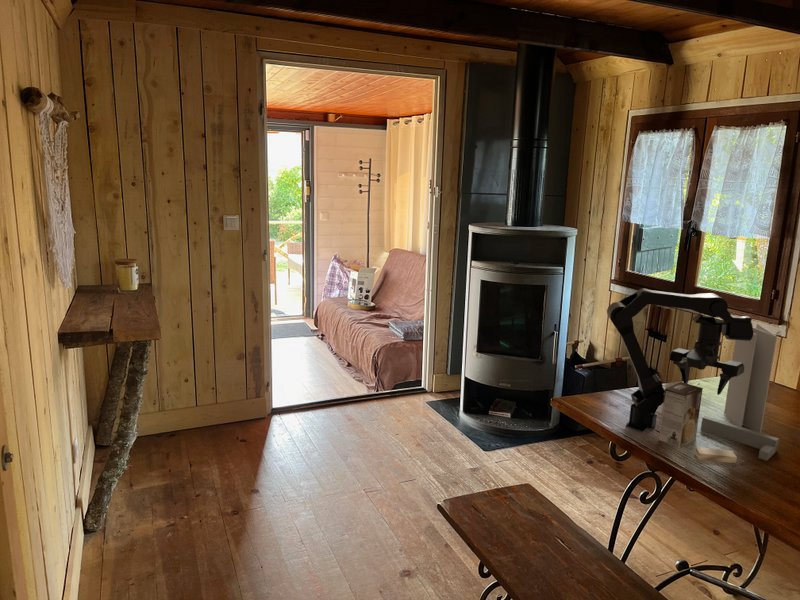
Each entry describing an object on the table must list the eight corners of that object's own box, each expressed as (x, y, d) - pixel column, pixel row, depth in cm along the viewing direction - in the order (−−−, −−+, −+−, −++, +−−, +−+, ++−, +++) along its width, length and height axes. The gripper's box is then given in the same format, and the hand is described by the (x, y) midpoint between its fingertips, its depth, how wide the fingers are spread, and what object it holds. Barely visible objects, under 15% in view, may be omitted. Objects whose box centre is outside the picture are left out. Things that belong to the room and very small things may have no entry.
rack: (691, 439, 167) (693, 423, 165) (702, 431, 172) (705, 415, 171) (766, 464, 153) (769, 447, 152) (775, 455, 158) (778, 438, 157)
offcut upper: (698, 459, 153) (699, 453, 152) (694, 453, 156) (695, 447, 156) (735, 463, 151) (736, 457, 151) (731, 456, 154) (732, 450, 154)
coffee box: (673, 433, 169) (680, 380, 165) (696, 441, 164) (703, 387, 161) (657, 441, 163) (664, 388, 160) (680, 450, 159) (687, 395, 155)
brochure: (760, 434, 170) (777, 336, 164) (739, 432, 171) (755, 335, 165) (743, 415, 184) (757, 323, 177) (724, 413, 185) (738, 322, 178)
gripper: (663, 335, 167) (657, 387, 170) (733, 351, 153) (725, 407, 157) (680, 329, 174) (674, 378, 178) (748, 343, 160) (740, 396, 164)
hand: (701, 389), depth 169 cm, fingers open, 9 cm apart
